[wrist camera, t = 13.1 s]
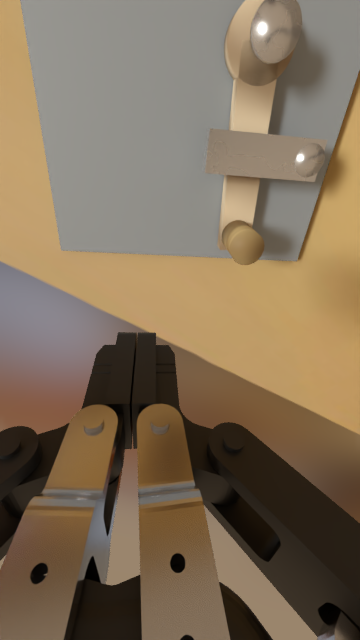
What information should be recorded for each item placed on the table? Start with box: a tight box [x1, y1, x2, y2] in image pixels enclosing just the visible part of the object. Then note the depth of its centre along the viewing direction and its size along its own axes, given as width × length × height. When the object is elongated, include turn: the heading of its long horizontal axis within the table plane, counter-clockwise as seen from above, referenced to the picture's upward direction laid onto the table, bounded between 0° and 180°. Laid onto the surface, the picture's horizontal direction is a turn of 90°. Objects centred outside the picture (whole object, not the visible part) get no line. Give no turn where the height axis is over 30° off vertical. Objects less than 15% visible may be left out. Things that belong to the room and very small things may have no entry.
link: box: [217, 0, 295, 265], centre depth 22 cm, size 18×5×6 cm, turn 179°
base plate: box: [20, 0, 360, 261], centre depth 25 cm, size 26×22×1 cm
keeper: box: [202, 0, 328, 182], centre depth 21 cm, size 10×10×4 cm
